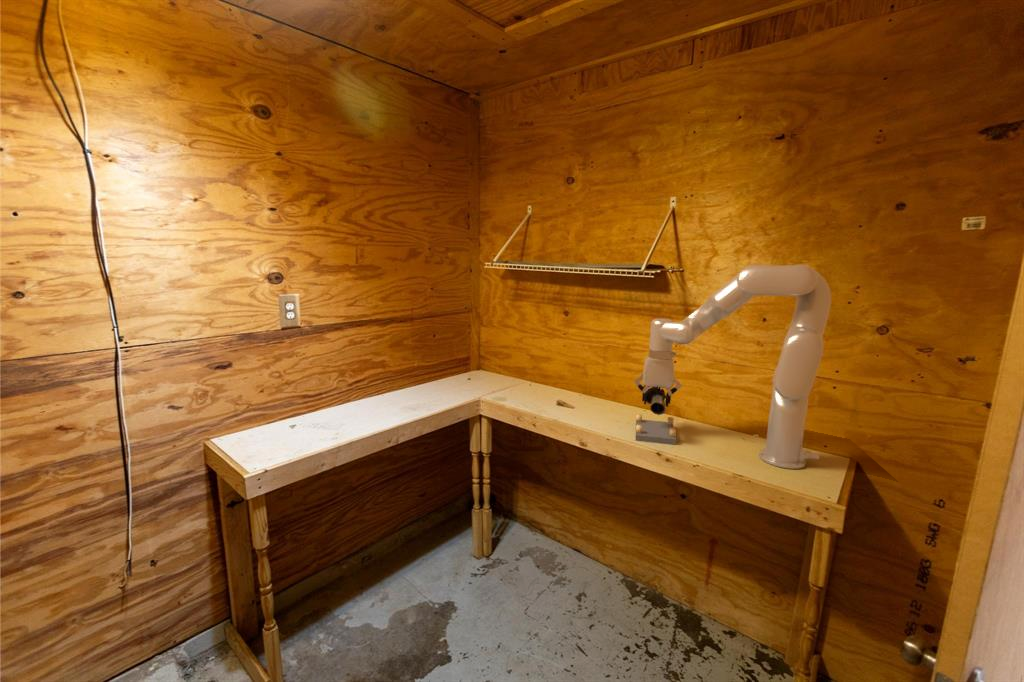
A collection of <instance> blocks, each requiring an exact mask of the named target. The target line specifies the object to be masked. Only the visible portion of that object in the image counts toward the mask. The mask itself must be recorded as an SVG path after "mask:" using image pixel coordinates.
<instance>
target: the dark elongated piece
mask: <svg viewBox="0 0 1024 682" xmlns="http://www.w3.org/2000/svg"><path fill="white" fill-rule="evenodd" d="M665 391H666V390H665V389H664V388H659V387H649V388H648V389H647V400H646V404H648V405H650V407H649V409H650V412H652V413H653V414H655V415H658V416H660V415H663V414H664V413H665V412H666V404H665V402H666V392H665Z"/></svg>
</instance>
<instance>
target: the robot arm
mask: <svg viewBox="0 0 1024 682" xmlns="http://www.w3.org/2000/svg"><path fill="white" fill-rule="evenodd" d="M756 296H769V297H771V296H772V297H774V296H775V297H776V296H777V297H781V296H782V297H795V301H796V302H795V306H794V311H793V312H792V317H791V322H790V325H789V328H788V332H787V333H786V335H785V337H784V339H783V344H782V348H781V353H780V356H779V359H778V363H777V365H776V368H775V370H774V374H773V377H772V378H773V380H772V390H771V391H772V392H771V398H770V400H771V401H770V407H769V415H768V425H767V432H766V433H767V434H766V442H765V448H763V449H761V450H759V452H758V456H759V458H760V459H761V460H762V461H763V462H766V463H767V464H770V465H771V466H774V467H779V468H783V469H790V470H791V469H792V470H795V469H797V470H798V469H802V468H804V467H806V464H807V460H809V459H811V460H815V461H816V460H817V461H818V460H820V454H819V453H818V452H817V453H815V452H812V450H809V449H803V442H804V441H803V440H804V434H805V427H806V426H805V425H806V418H807V413H808V405H809V399H810V398H809V397H810V393H811V391H812V389H813V386H814V382H815V379H816V377H817V374H818V371H819V368H820V363H821V360H822V357H823V353H824V346H825V345H824V341H823V339H824V338H823V336H824V332H825V330H826V326H827V322H828V318H829V314H830V310H831V306H832V293H831V289H830V286H829V284H828V282H827V280H826V279H825V278H824V277H823V275H821V273H820V272H818V271H817V270H816V269H815V268H813V267H811V266H810V265H807V264H801V263H800V264H799V263H798V264H793V265H792V264H791V265H761V264H750V265H747V266H745V267H743V268H742V269H741V270H740V271H739V273H737V274H736V275H735V276H733V277H732V278H731V279H729V280H728V281H726V282H725V283H724V284H723V285H721V287H719V288H718V289H716V291H714V292H713V293H712V294H711V295H710V296H709V297H708V298H707V299H706V301H705V302H704V303H703V304H702V305H700V306H699V307H698V308H697V309H696V310H694V311H693V312H692V313H690V314H689V315H688V316H687V317H685V318H684V319H683V320H681V321H674V320H673V319H669V318H665V317H664V318H662V317H661V318H659V317H658V318H653V319H652V320H651V323H650V334H649V347H648V356H645V360H644V365H643V369H642V374H641V375H639V376H638V377H636V378H635V379H634V381H633V383H634V384H635V386H636V387H637V388H638V389H639V390H640V391H641V393H642V397H641V398H642V399H641V401H642V402H643V405H647V402H646V400H647V390H648V389H649V388H652V387H658V388H660V389H665V391H666V393H665V396H666V398H665V408H666V407H668V408H669V405H670V404H671V401H672V400H671V398H672V395H674V394H675V393H676V392H678V390H680V389H681V388H682V387H683V384H682V383H681V382H680V381H679V380H678V379H677V378H676V377H675V369H674V368H675V367H674V364H675V362H674V359H673V357H677V352H674V351H673V343H675V344H677V345H689V344H691V343H693V342H694V341H695V340H696V339H697V338H699V337H700V336H702V334H703V333H705V332H706V331H708V330H709V329H710V328H712V327H713V326H715V325H716V324H717V323H719V322H720V321H722V320H723V319H726V318H727V317H729V316H730V315H733V314H734V313H735V312H736V311H737V310H739V309H740V308H741V307H743V306H744V305H745V304H747V303H748V302H750V301H751V300H752V299H753V298H755V297H756ZM641 381H642V384H641V383H640V382H641ZM674 384H675V386H673V385H674Z"/></svg>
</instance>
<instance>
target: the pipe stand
mask: <svg viewBox="0 0 1024 682" xmlns="http://www.w3.org/2000/svg"><path fill="white" fill-rule="evenodd" d="M635 417H636V418H635V441H636V442H645V443H653V444H664V445H665V444H666V445H674V446H676V444H677V438H676V437H677V428H675V427H674V421H675V420H674V417H673V416H668V417H667V421H662V420H652V419H643V415H642V414H640V413H638V414H636V416H635Z"/></svg>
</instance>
